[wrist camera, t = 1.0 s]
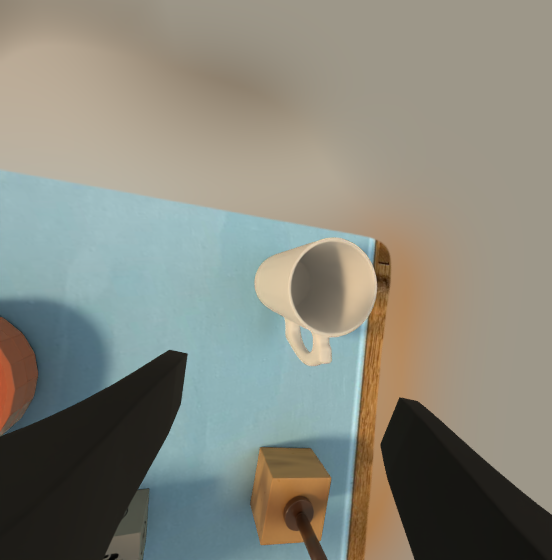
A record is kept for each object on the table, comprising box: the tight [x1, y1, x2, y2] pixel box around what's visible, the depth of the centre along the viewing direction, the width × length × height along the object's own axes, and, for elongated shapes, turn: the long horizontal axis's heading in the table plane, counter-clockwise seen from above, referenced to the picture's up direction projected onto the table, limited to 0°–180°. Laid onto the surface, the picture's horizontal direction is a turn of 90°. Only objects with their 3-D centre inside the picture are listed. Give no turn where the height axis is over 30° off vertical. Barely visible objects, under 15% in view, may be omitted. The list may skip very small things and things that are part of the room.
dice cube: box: [103, 489, 149, 560], centre depth 25 cm, size 5×5×5 cm
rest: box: [250, 447, 331, 545], centre depth 29 cm, size 6×6×5 cm
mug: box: [255, 238, 377, 366], centre depth 26 cm, size 10×7×12 cm, turn 179°
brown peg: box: [283, 496, 328, 560], centre depth 24 cm, size 3×3×6 cm
